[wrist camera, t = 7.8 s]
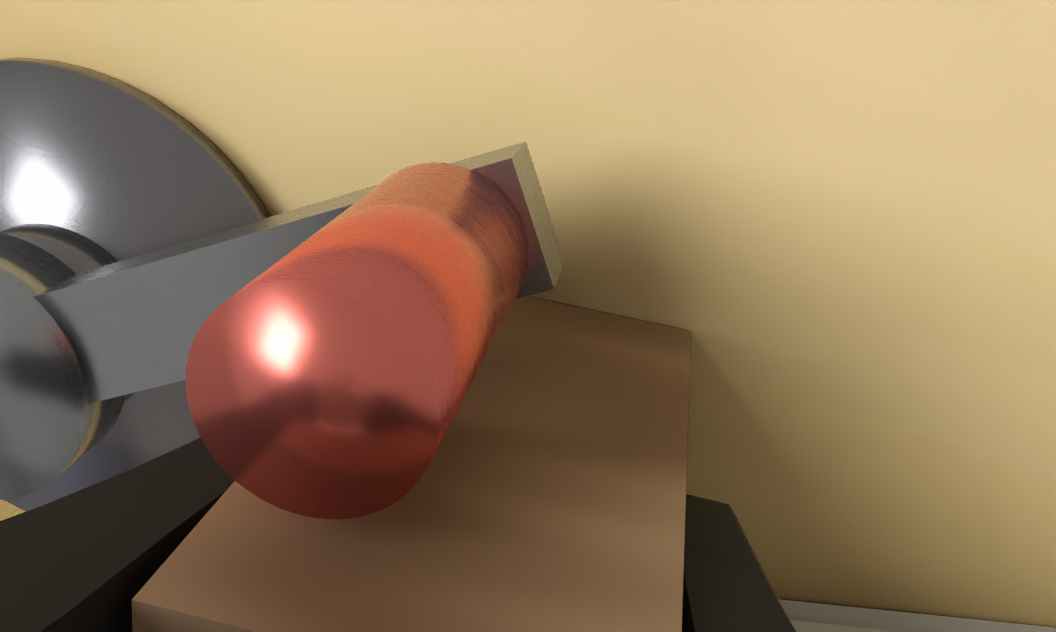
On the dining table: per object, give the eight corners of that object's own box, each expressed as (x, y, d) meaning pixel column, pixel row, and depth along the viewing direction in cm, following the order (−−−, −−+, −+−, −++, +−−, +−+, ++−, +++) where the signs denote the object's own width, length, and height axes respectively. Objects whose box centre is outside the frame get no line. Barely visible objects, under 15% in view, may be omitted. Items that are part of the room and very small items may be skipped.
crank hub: (331, 543, 14) (307, 581, 13) (-80, 501, 15) (-125, 534, 14) (279, 59, 11) (245, 69, 10) (-215, 55, 12) (-281, 63, 12)
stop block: (691, 331, 12) (678, 740, 6) (633, 560, 13) (574, 1079, 7) (415, 272, 12) (132, 599, 6) (389, 502, 13) (139, 948, 7)
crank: (-25, 477, 13) (-346, 715, 9) (-148, 265, 12) (-568, 428, 8) (588, 337, 10) (519, 576, 6) (498, 57, 9) (355, 139, 6)
